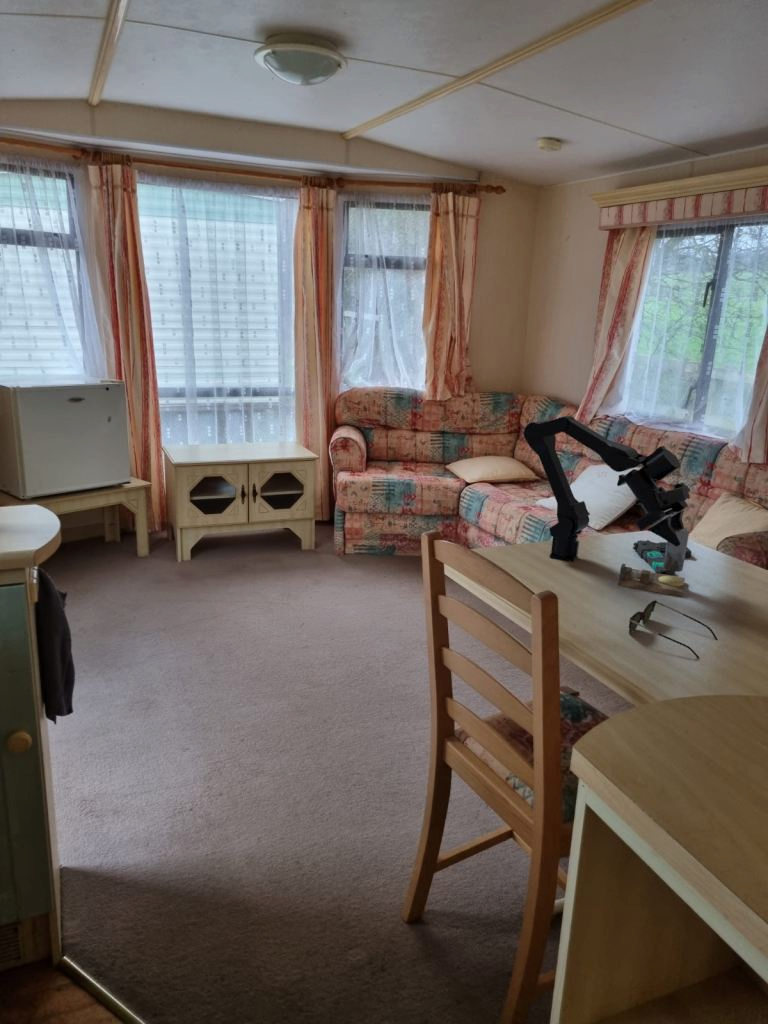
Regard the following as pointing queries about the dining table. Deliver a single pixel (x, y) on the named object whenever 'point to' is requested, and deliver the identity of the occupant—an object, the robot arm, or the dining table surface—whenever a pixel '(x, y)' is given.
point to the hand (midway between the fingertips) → (682, 543)
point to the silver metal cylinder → (676, 551)
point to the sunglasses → (646, 615)
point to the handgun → (655, 555)
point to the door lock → (651, 581)
